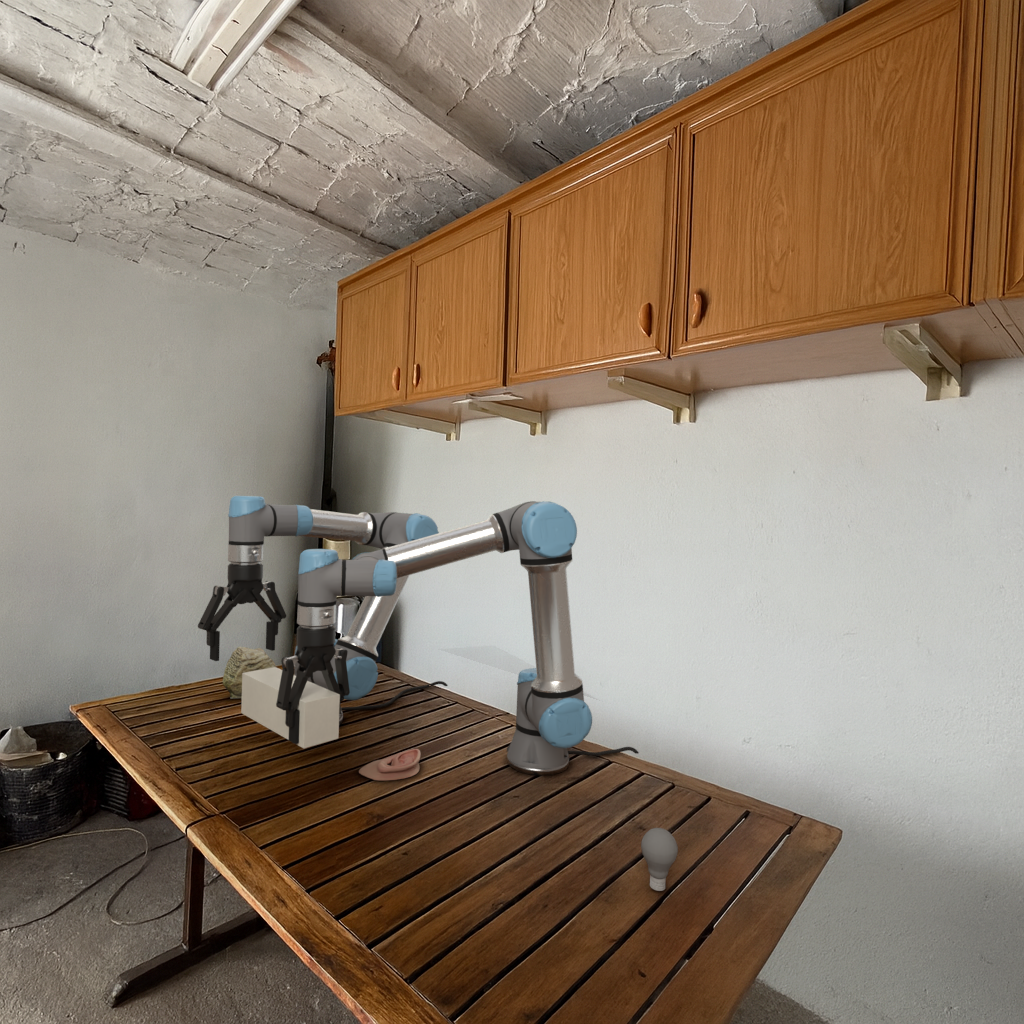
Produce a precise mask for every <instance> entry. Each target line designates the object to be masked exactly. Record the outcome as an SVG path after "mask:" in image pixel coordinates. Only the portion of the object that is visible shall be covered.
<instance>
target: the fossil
mask: <svg viewBox="0 0 1024 1024" xmlns="http://www.w3.org/2000/svg"><path fill="white" fill-rule="evenodd" d="M273 667H276V668H277V665H276V663H275V662H274V660H273V659H272V658H271V657H270V656H269V655H268V654H267V653H266V652H265V650H264V649H263V648H260V647H258V648H251V647H247V646H246V647H245V646H238V647H237V648H236V649H235V650H233V651H232V653H231V656H230V657H229V659H228V660H227V663H226V666H225V668H224V671H223V675H222V676H223V677H222V685H223V687H224V688H225V690H226V691H228V693H229V698H230V699H242V673H245V672H251V671H256V670H262V669H267V668H273Z"/></svg>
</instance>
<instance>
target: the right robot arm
mask: <svg viewBox="0 0 1024 1024" xmlns="http://www.w3.org/2000/svg"><path fill="white" fill-rule="evenodd" d="M577 536H578V527H577V523H576V520H575V518H574V515H572V513H571V512H570V511H569V510H568V509H567V508H566V507H564V506H563V505H561V504H559V503H556V502H553V501H545V500H544V501H535V500H534V501H533V500H530V501H525V502H522V503H520V504H517V505H515V506H512V507H510V508H507V509H504V510H501V511H498V512H495V513H491V514H490V515H488V518H487V519H486V520H483V521H479V522H475V523H471V524H467V525H464V526H460V527H456V528H453V529H450V530H446V531H442V532H439V533H438V534H435V535H431V536H427V537H424V538H420V539H417V540H413V541H409V542H406V543H402V544H399V545H395V546H391V547H388V548H385V549H378V550H374V551H371V552H367V551H365V552H361V553H358V554H356V556H354V557H352V559H342V558H339V553H338V551H337V550H336V549H329V548H328V549H327V548H308V549H305V550H303V551H302V552H301V553H300V554H299V563H298V577H297V578H298V579H297V580H298V581H297V612H296V613H297V616H296V624H297V625H298V627H297V628H296V646H297V651H296V653H295V652H294V655H291V656H289V657H286V656H284V657H282V658H281V661H280V662H281V667H282V669H281V670H282V675H281V681H280V686H279V692H278V697H277V703H276V706H277V707H278V708H280V709H282V710H286V721H285V724H286V726H288V727H289V740H288V742H290V743H292V744H294V745H297V744H298V743H299V722H300V711H299V710H297V709H296V708H297V706H298V703H299V701H300V698H301V695H302V693H303V690H304V688H305V685H306V683H307V680H308V678H310V676H311V674H312V673H314V672H316V671H321V672H322V674H323V677H324V679H325V682H326V685H327V687H328V690H330V691H333V692H335V693H337V694H340V706H339V715H340V709H341V708H342V706H341V704H342V702H343V701H344V700H345V699H344V696H345V695H346V696H347V695H349V693H350V690H349V682H348V673H347V665H346V659H347V653H348V651H347V650H345V649H342V648H338V649H335V647H334V643H335V639H336V631H337V630H336V628H337V627H335V625H334V624H336V623H337V622H336V619H337V618H336V617H337V614H336V613H337V597H365V596H377V597H381V596H391V595H393V594H394V593H395V591H396V583H397V579H398V578H401V577H405V576H408V575H409V576H411V575H414V574H415V575H416V574H418V573H422V572H424V571H428V570H433V569H436V568H440V567H442V566H446V565H450V564H453V563H458V562H460V561H465V560H467V559H472V558H474V557H478V556H483V555H485V554H488V553H492V552H499V553H500V554H503V553H507V552H512V551H519V564H520V566H521V567H522V568H523V569H524V570H526V572H527V577H528V587H529V588H528V589H529V600H530V611H531V625H532V634H533V647H534V659H535V667H533V668H531V667H530V668H524V669H522V670H520V671H519V672H518V677H517V682H516V685H517V689H516V690H517V691H516V692H517V693H516V711H515V713H516V714H515V715H516V717H515V731H514V733H513V736H512V739H511V742H510V744H509V745H508V746H507V747H506V763H507V765H508V767H510V768H512V769H513V770H514V771H517V772H520V773H523V774H527V775H532V776H552V775H557V774H560V773H562V772H565V771H566V770H567V769H568V768H569V766H570V756H569V755H573V756H574V755H575V756H588V757H602V756H605V755H612V754H618V753H622V752H627V751H630V752H632V753H634V754H636V755H637V754H639V753H640V752H639V751H638V749H636V748H634V747H632V746H624V747H620V748H616V749H615V748H614V749H607V750H603V751H595V752H593V751H585V750H584V751H583V750H568V749H569V748H574V747H576V746H577V745H579V744H581V743H582V742H583V741H584V740H585V739H586V737H587V736H588V735H589V734H590V731H591V729H592V726H593V714H592V710H591V709H590V706H589V705H588V703H587V702H585V698H584V697H585V696H584V685H583V679H582V678H581V677H580V676H578V674H576V668H575V657H574V647H573V646H574V645H573V644H574V643H573V633H572V622H571V608H570V598H569V597H570V596H569V585H568V571H567V569H568V567H569V566H570V564H571V563H572V562H573V550H572V549H573V547H574V545H575V543H576V540H577ZM333 657H334V658H335V666H336V675H337V681H336V679H335V676H334V673H333V667H332V665H331V660H332V658H333ZM296 662H298V663H299V667H298V669H297V676H296V678H295V681H294V683H293V686H292V682H293V676H294V669H295V667H296ZM304 671H305V672H304ZM337 683H338V684H337ZM340 707H341V708H340Z"/></svg>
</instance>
